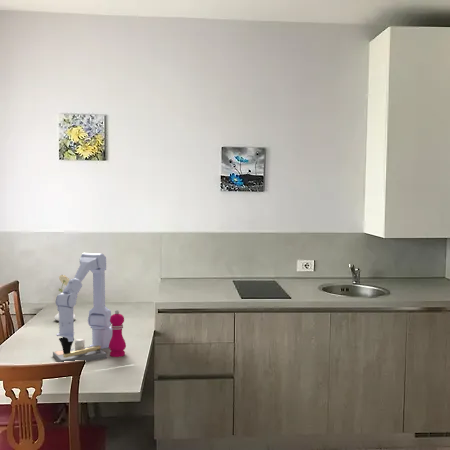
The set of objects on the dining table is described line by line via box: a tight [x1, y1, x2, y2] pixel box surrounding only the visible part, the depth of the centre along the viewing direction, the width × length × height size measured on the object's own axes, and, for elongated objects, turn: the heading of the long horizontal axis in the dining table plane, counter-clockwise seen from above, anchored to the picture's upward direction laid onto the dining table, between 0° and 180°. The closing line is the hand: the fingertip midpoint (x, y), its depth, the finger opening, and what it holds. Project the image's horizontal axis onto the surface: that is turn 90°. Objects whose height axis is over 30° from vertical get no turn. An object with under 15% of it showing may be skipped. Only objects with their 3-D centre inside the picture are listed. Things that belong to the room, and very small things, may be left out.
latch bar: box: [63, 345, 102, 358], centre depth 237 cm, size 17×2×1 cm, turn 136°
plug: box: [72, 338, 86, 355], centre depth 241 cm, size 6×6×7 cm
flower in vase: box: [53, 274, 77, 322], centre depth 311 cm, size 13×11×25 cm
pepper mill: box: [108, 309, 127, 358], centre depth 244 cm, size 7×7×20 cm
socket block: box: [52, 346, 108, 363], centre depth 241 cm, size 19×14×3 cm
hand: (66, 355), depth 233 cm, fingers closed, pressing on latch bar
